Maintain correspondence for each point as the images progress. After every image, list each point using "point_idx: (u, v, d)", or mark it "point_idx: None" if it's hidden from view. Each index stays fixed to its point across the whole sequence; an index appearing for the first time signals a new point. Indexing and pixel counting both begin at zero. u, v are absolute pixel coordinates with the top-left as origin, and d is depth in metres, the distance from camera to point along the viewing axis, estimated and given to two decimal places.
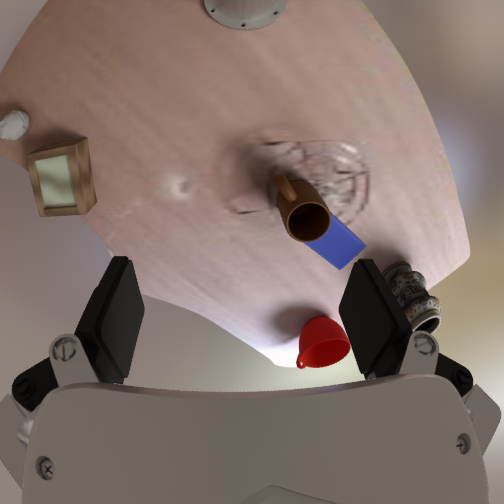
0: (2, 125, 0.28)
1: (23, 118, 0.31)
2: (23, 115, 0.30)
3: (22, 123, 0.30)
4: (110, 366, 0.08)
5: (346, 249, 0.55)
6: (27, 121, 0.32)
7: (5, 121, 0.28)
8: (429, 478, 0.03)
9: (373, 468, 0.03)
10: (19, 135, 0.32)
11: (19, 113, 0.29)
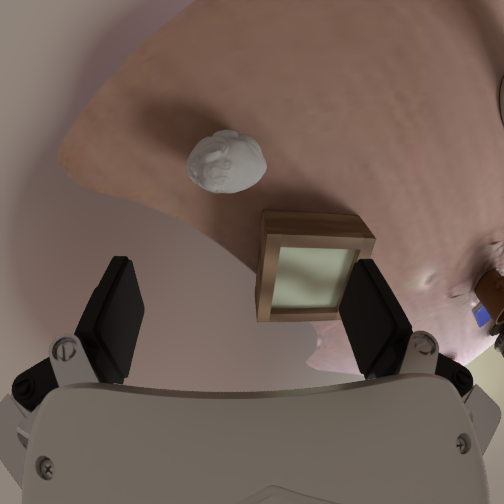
0: (220, 162, 0.21)
1: None
2: (260, 150, 0.23)
3: (265, 169, 0.23)
4: (110, 366, 0.08)
5: None
6: None
7: (227, 154, 0.21)
8: (429, 478, 0.03)
9: (373, 468, 0.03)
10: None
11: (254, 143, 0.23)
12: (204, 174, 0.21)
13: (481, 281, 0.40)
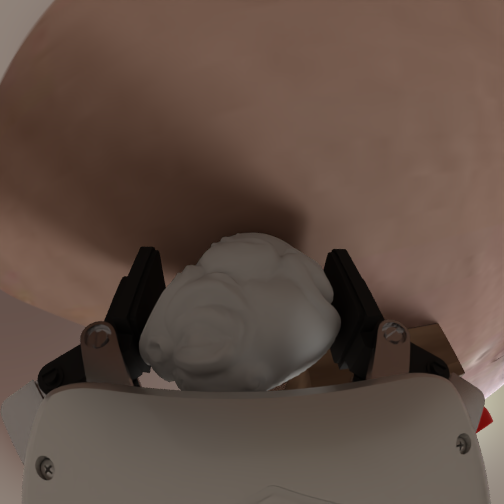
0: (233, 380, 0.07)
1: None
2: None
3: (337, 334, 0.09)
4: None
5: None
6: None
7: (254, 354, 0.07)
8: (429, 478, 0.03)
9: (373, 468, 0.03)
10: None
11: (319, 282, 0.09)
12: None
13: None
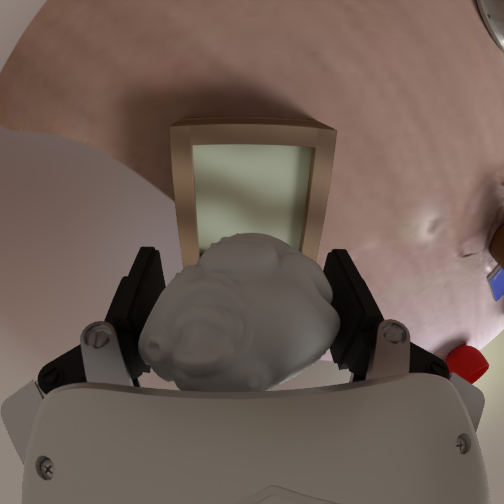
0: (232, 380, 0.07)
1: None
2: None
3: (336, 334, 0.09)
4: None
5: None
6: None
7: (253, 354, 0.07)
8: (429, 478, 0.03)
9: (373, 468, 0.03)
10: None
11: (318, 282, 0.09)
12: None
13: (496, 235, 0.30)
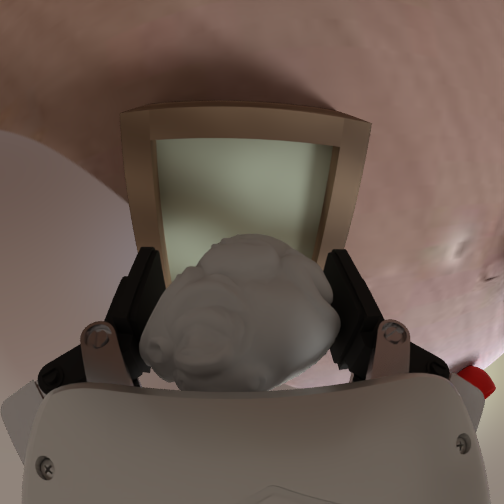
0: (233, 381, 0.07)
1: None
2: None
3: None
4: None
5: None
6: None
7: (253, 355, 0.07)
8: (429, 478, 0.03)
9: (373, 468, 0.03)
10: None
11: (319, 283, 0.09)
12: None
13: None
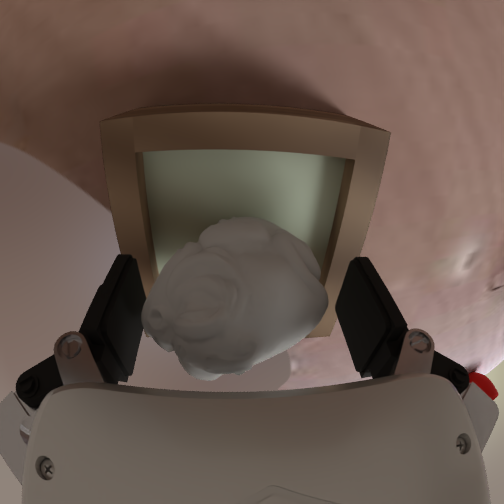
0: (226, 344, 0.08)
1: None
2: None
3: (325, 311, 0.10)
4: (115, 363, 0.08)
5: None
6: None
7: (245, 319, 0.08)
8: (429, 478, 0.03)
9: (373, 468, 0.03)
10: None
11: (306, 259, 0.09)
12: (187, 361, 0.08)
13: None
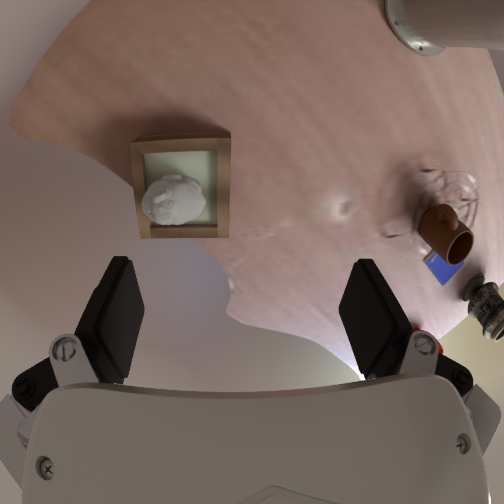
0: (165, 203, 0.26)
1: None
2: (200, 187, 0.29)
3: (204, 203, 0.29)
4: (110, 366, 0.08)
5: (452, 267, 0.50)
6: None
7: (170, 196, 0.27)
8: (429, 478, 0.03)
9: (373, 468, 0.03)
10: (190, 219, 0.31)
11: (194, 183, 0.28)
12: (154, 212, 0.27)
13: (423, 218, 0.42)
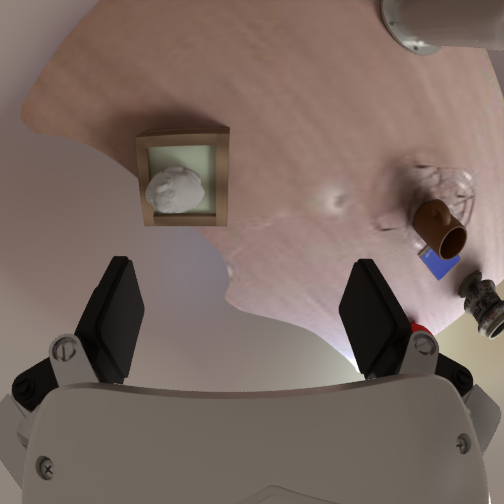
0: (167, 192, 0.29)
1: (199, 183, 0.32)
2: (200, 179, 0.31)
3: (203, 194, 0.31)
4: (110, 366, 0.08)
5: (447, 262, 0.51)
6: None
7: (172, 186, 0.29)
8: (429, 478, 0.03)
9: (373, 468, 0.03)
10: None
11: (194, 175, 0.31)
12: (156, 201, 0.29)
13: (417, 213, 0.44)
